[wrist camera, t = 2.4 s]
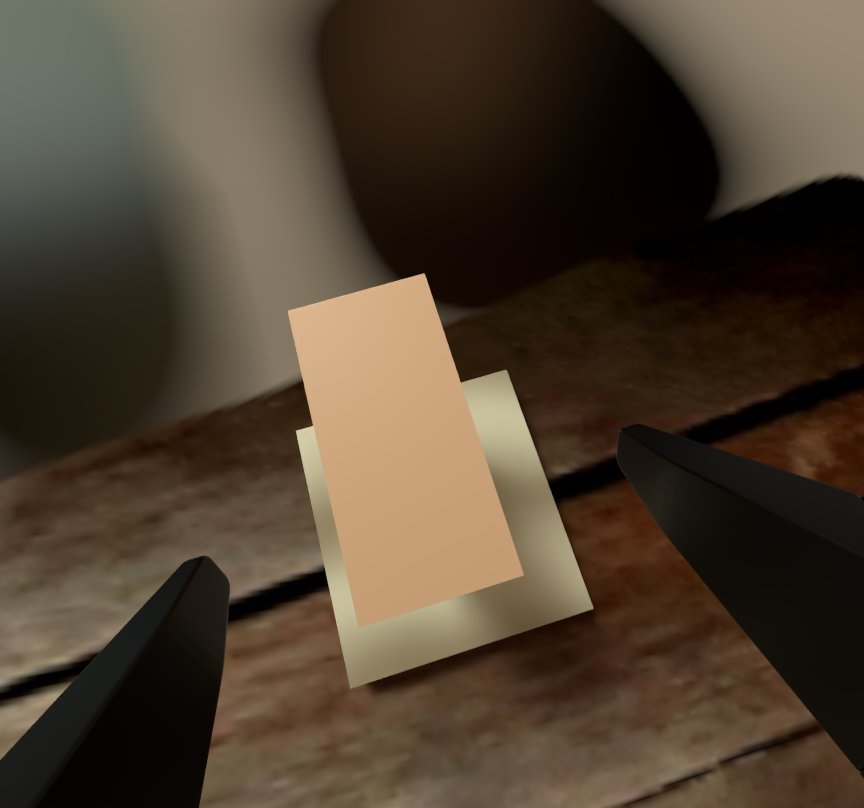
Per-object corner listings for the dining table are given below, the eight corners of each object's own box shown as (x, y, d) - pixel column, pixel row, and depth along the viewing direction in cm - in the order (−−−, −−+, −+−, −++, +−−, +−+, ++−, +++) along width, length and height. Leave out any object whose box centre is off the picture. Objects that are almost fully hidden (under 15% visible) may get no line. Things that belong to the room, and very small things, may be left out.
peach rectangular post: (480, 534, 11) (523, 575, 5) (401, 559, 11) (359, 628, 5) (432, 379, 12) (424, 273, 7) (360, 399, 12) (287, 311, 6)
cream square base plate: (580, 598, 17) (660, 656, 11) (358, 671, 16) (310, 774, 10) (501, 379, 19) (529, 324, 13) (307, 436, 19) (243, 406, 13)
